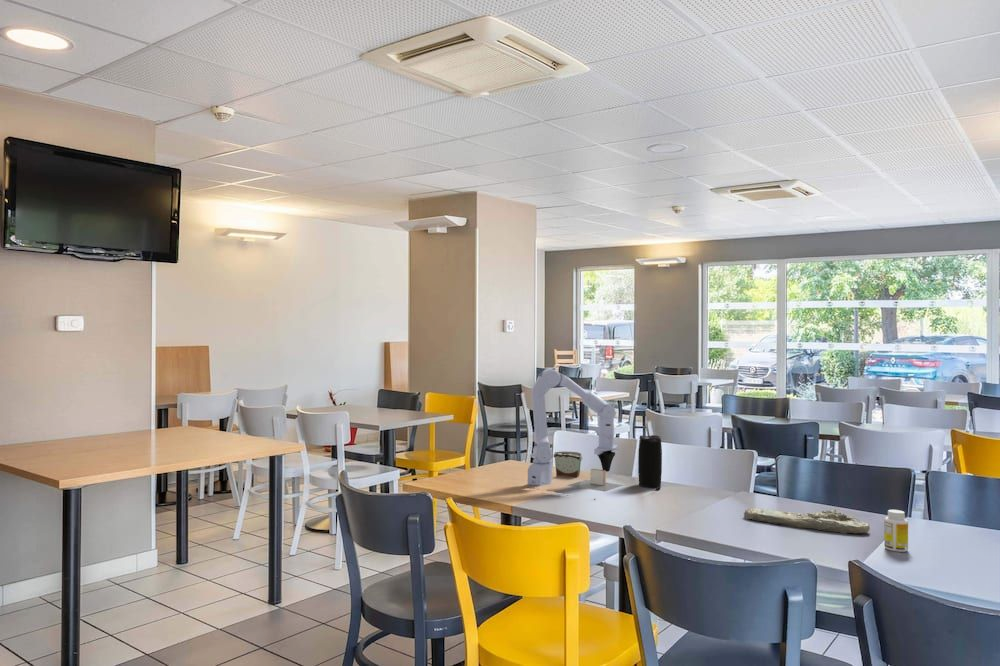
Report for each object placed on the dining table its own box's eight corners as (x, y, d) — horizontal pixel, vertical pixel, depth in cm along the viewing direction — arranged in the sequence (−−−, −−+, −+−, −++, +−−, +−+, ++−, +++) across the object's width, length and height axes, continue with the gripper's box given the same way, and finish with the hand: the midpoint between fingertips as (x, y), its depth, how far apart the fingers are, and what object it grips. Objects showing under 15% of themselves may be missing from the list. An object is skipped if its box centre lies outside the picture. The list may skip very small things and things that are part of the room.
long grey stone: (748, 518, 228) (741, 527, 220) (747, 502, 228) (740, 510, 219) (871, 528, 210) (868, 538, 202) (870, 511, 210) (867, 520, 202)
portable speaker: (655, 486, 270) (656, 434, 270) (665, 491, 261) (666, 437, 261) (634, 486, 268) (634, 434, 268) (643, 491, 259) (644, 438, 259)
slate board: (605, 494, 254) (605, 491, 254) (566, 488, 264) (566, 485, 264) (623, 488, 265) (623, 485, 265) (586, 482, 275) (586, 479, 275)
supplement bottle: (910, 549, 191) (910, 511, 191) (904, 554, 186) (905, 514, 187) (887, 545, 194) (887, 507, 194) (881, 549, 190) (881, 511, 190)
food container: (587, 478, 284) (588, 453, 284) (581, 480, 278) (581, 455, 279) (560, 474, 290) (560, 450, 290) (553, 477, 285) (553, 452, 285)
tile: (603, 485, 263) (603, 470, 263) (590, 483, 267) (590, 469, 267) (605, 485, 265) (605, 470, 265) (592, 483, 268) (592, 468, 268)
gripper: (606, 438, 263) (606, 475, 262) (624, 434, 274) (624, 469, 274) (589, 436, 267) (589, 472, 267) (608, 432, 278) (608, 467, 278)
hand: (606, 471), depth 271 cm, fingers closed
